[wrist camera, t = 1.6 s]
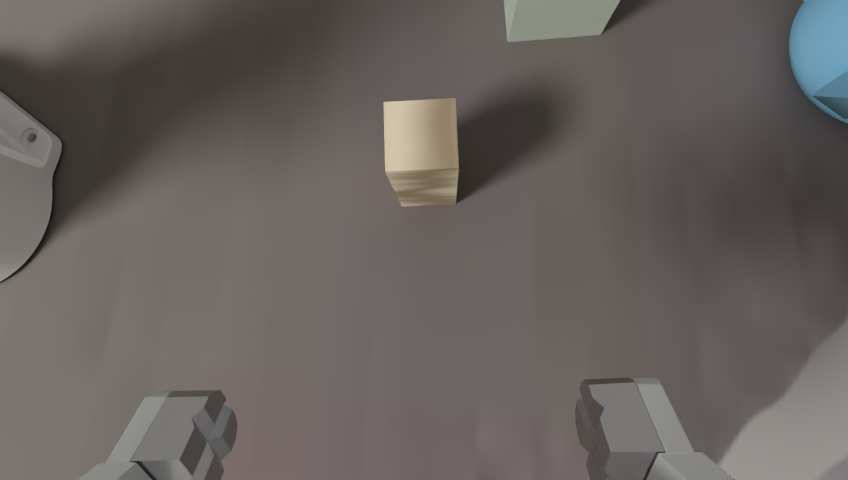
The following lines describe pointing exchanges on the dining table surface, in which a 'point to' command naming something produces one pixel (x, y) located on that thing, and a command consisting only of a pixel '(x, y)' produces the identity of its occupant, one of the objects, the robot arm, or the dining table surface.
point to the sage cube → (556, 18)
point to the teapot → (822, 54)
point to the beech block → (422, 151)
